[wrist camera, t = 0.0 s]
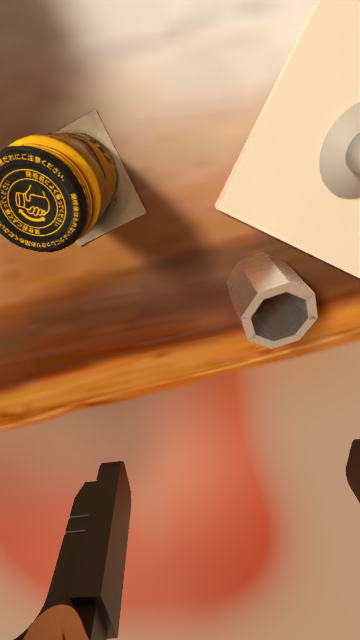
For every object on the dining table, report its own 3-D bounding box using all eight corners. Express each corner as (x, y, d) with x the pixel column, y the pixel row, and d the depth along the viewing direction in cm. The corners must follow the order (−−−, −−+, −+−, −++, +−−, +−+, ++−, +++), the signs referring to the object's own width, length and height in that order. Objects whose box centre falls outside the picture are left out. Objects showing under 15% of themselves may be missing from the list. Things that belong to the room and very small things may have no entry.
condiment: (95, 108, 23) (45, 96, 13) (147, 212, 27) (139, 264, 17) (18, 153, 24) (-83, 174, 14) (79, 245, 28) (36, 311, 18)
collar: (248, 243, 29) (270, 273, 23) (299, 267, 31) (332, 300, 25) (217, 296, 32) (229, 334, 26) (265, 315, 34) (287, 354, 28)
